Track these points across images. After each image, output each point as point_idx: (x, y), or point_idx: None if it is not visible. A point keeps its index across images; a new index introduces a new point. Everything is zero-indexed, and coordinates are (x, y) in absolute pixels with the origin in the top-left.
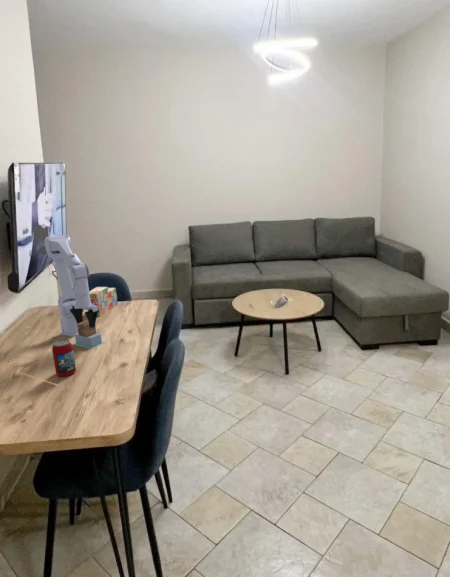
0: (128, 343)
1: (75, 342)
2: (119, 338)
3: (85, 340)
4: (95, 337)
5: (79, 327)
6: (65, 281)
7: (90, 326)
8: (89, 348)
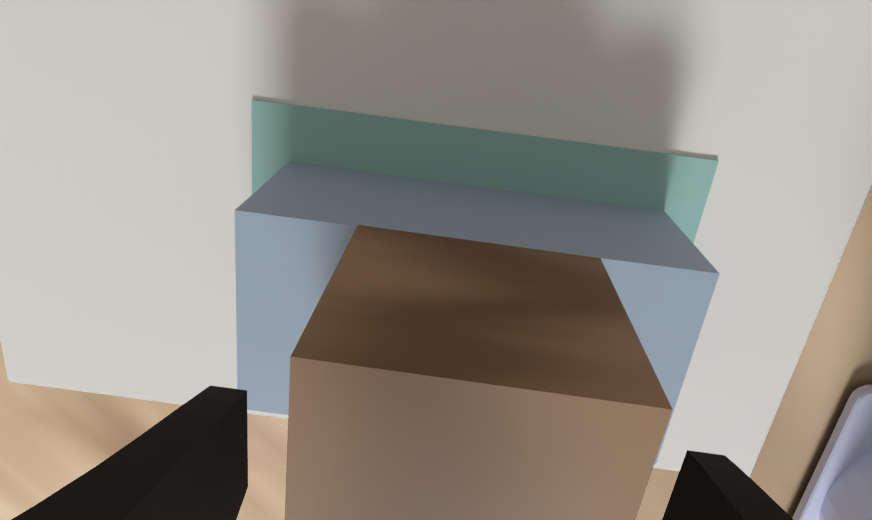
0: (9, 423)
1: (695, 232)
2: None
3: (418, 207)
4: (245, 296)
5: (560, 339)
6: None
7: (196, 399)
8: (296, 112)
